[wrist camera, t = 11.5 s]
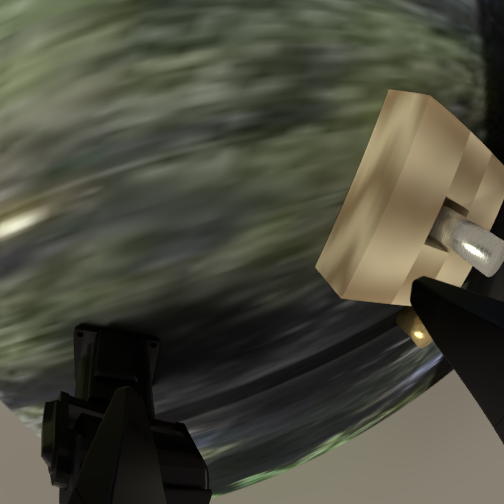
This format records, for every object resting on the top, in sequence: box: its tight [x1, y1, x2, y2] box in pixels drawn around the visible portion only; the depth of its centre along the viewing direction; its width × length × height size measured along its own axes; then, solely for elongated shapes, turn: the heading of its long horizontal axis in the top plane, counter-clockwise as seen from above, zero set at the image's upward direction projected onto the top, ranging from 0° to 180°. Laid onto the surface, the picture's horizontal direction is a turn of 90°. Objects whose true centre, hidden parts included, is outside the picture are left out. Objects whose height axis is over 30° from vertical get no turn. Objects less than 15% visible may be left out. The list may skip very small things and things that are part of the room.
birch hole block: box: [315, 89, 504, 306], centre depth 22 cm, size 14×14×4 cm
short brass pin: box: [396, 306, 433, 348], centre depth 29 cm, size 3×3×4 cm
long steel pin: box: [429, 204, 504, 277], centre depth 20 cm, size 3×3×9 cm
